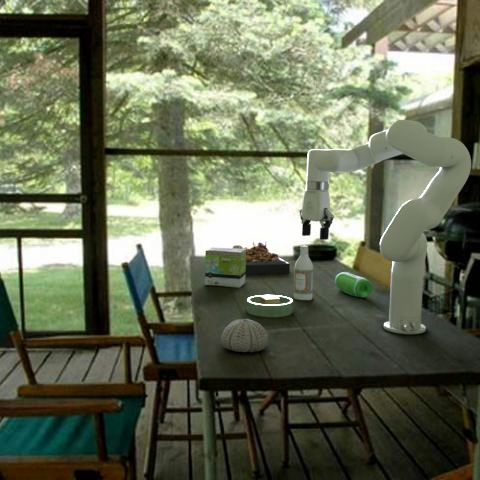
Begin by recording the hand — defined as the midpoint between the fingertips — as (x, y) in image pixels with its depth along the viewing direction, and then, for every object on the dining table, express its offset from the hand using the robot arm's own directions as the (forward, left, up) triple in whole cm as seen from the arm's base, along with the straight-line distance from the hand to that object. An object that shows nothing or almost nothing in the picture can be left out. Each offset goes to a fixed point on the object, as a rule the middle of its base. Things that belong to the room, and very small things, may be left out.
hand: (314, 237), depth 209 cm
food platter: (+91, +21, -26) cm, 97 cm away
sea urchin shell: (-43, +23, -26) cm, 55 cm away
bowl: (-3, +15, -26) cm, 30 cm away
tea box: (+44, +32, -26) cm, 60 cm away
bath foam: (+19, +2, -26) cm, 32 cm away
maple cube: (-3, +15, -25) cm, 29 cm away
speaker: (+29, -18, -26) cm, 43 cm away
